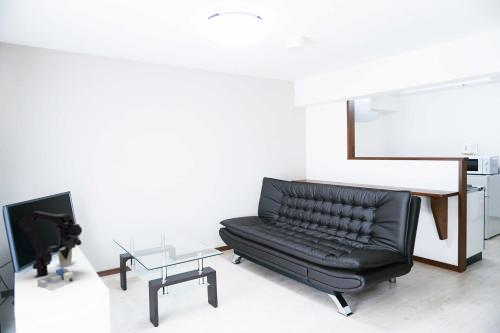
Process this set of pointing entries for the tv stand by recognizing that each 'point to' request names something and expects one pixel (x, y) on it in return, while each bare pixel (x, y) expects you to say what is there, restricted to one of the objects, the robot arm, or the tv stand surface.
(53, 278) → the grey backboard with ledge
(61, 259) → the coffee cup
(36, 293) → the tv stand surface
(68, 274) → the cream cube with dome
